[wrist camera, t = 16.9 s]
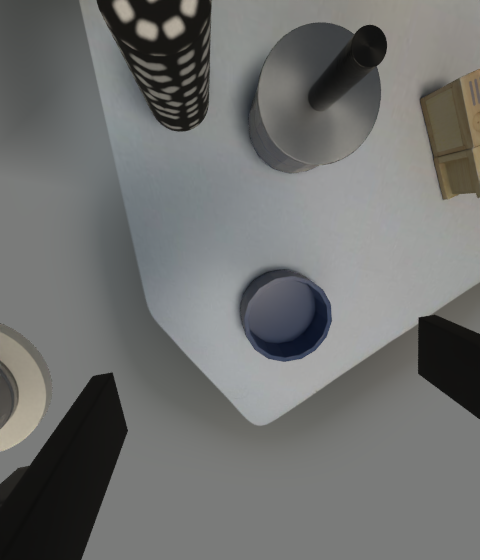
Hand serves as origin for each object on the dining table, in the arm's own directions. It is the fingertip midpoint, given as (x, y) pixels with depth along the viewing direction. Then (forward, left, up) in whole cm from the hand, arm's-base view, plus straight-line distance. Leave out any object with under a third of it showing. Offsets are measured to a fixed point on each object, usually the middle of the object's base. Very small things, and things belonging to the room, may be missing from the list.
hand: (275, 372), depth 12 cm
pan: (+8, -10, -35) cm, 37 cm away
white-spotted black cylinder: (-3, +23, -35) cm, 42 cm away
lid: (+13, +18, -25) cm, 33 cm away
